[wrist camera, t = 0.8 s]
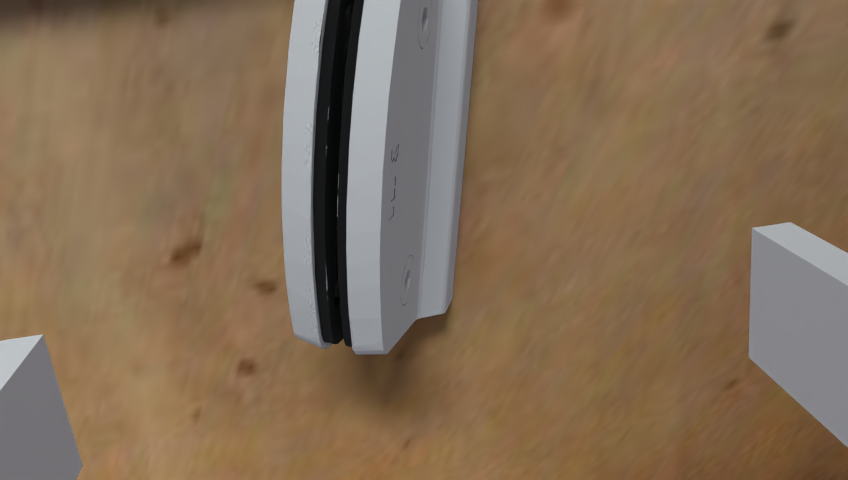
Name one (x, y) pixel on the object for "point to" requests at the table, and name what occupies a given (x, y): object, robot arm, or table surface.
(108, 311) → the table surface
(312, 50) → the grey arched slotted casing
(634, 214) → the table surface
